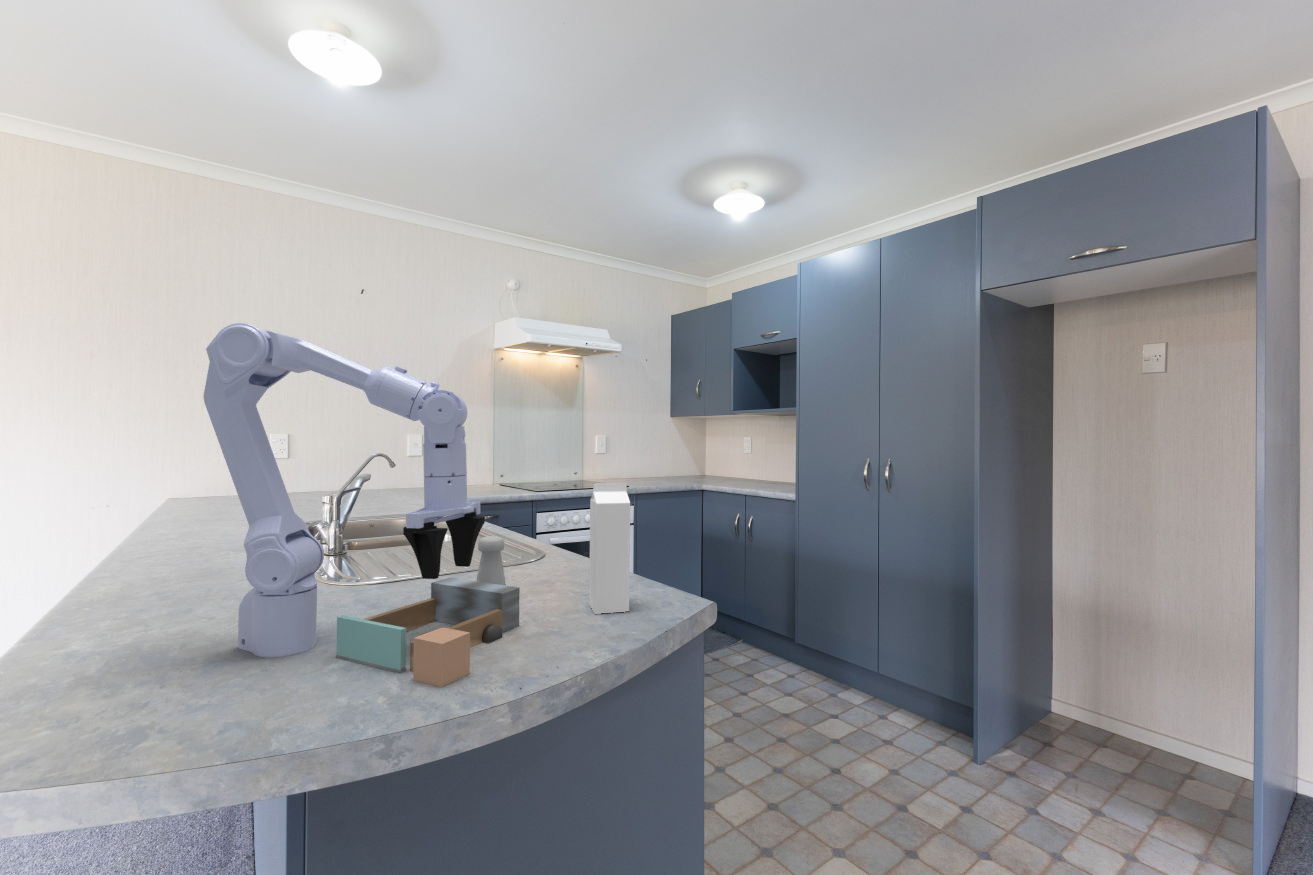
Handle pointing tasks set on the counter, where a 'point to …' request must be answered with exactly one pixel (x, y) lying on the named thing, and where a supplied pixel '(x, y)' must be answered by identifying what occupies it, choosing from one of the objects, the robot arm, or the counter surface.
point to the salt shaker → (491, 560)
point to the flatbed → (461, 610)
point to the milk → (609, 548)
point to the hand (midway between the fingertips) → (447, 571)
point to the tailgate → (371, 643)
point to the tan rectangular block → (441, 656)
